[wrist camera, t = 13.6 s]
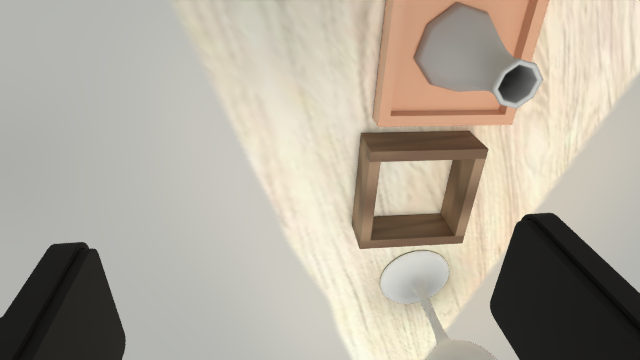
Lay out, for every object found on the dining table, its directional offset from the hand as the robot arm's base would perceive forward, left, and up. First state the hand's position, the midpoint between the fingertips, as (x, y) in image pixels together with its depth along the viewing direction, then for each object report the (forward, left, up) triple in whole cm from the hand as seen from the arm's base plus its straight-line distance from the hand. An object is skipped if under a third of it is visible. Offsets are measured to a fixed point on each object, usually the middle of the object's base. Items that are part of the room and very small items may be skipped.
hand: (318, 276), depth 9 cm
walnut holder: (+15, +14, -28) cm, 35 cm away
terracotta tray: (+1, +16, -28) cm, 32 cm away
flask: (+1, +16, -28) cm, 32 cm away
